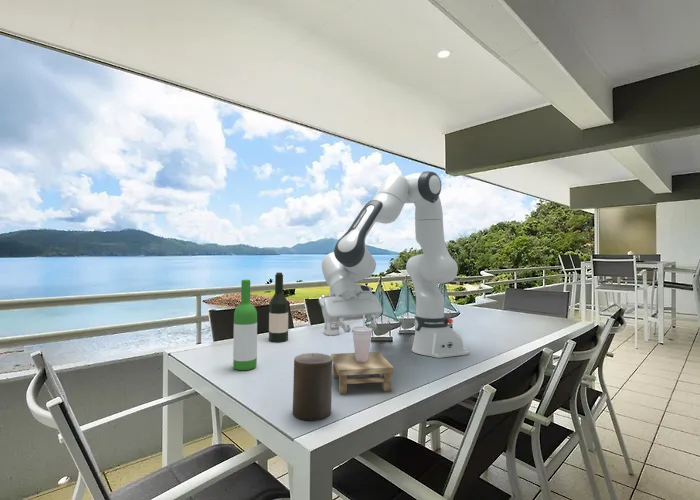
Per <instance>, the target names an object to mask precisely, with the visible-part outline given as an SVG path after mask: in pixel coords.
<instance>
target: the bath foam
mask: <svg viewBox="0 0 700 500" xmlns="http://www.w3.org/2000/svg"><path fill="white" fill-rule="evenodd" d="M328 295H331V293H330V291H329V292H328ZM324 334H325V335H326V336H338V335H339V334H340V326H339V325H338V324H337V322H331V323H328V322H326V321H325V320H324Z"/></svg>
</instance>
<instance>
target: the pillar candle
mask: <svg viewBox="0 0 700 500" xmlns="http://www.w3.org/2000/svg"><path fill="white" fill-rule="evenodd" d="M293 359H294V360H293V386H292V387H293V391H292V415H293V416H294V417H295V418H297V419H298V420H304V421H311V422H312V421H313V422H315V421H320V420H324V419H326V418H328V417H330V415H331V414H332V395H333V393H332V390H333V389H332V385H333V384H332V383H333V362H332V357H331V355H329V354H327V353H326V354H325V353H318V352H315V353H314V352H309V353H308V352H307V353H301V354H298V355H296V356H294V358H293Z"/></svg>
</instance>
